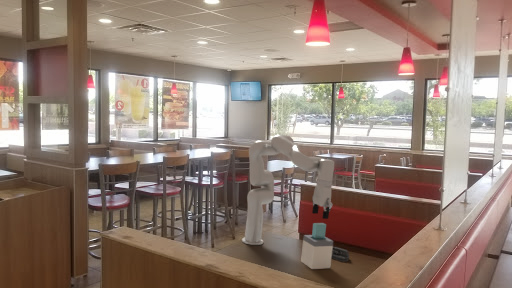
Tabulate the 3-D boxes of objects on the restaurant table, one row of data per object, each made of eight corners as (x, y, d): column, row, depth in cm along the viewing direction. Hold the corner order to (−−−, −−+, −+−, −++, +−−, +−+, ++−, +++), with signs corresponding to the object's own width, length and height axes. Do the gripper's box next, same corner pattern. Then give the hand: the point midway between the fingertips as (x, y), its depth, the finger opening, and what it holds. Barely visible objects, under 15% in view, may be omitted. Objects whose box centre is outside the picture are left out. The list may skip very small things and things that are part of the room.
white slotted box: (300, 261, 208) (303, 235, 208) (318, 260, 213) (321, 234, 212) (311, 269, 198) (314, 241, 198) (330, 268, 203) (333, 241, 202)
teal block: (311, 242, 205) (313, 223, 204) (320, 241, 208) (322, 222, 207) (314, 244, 202) (316, 224, 202) (324, 243, 205) (326, 224, 204)
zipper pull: (312, 236, 235) (352, 247, 221) (311, 247, 236) (351, 259, 221) (305, 238, 228) (345, 250, 213) (304, 250, 228) (344, 262, 214)
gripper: (309, 179, 210) (305, 211, 211) (327, 186, 194) (323, 220, 195) (321, 180, 213) (317, 211, 214) (340, 187, 197) (335, 220, 198)
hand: (320, 215), depth 205 cm, fingers open, 9 cm apart
